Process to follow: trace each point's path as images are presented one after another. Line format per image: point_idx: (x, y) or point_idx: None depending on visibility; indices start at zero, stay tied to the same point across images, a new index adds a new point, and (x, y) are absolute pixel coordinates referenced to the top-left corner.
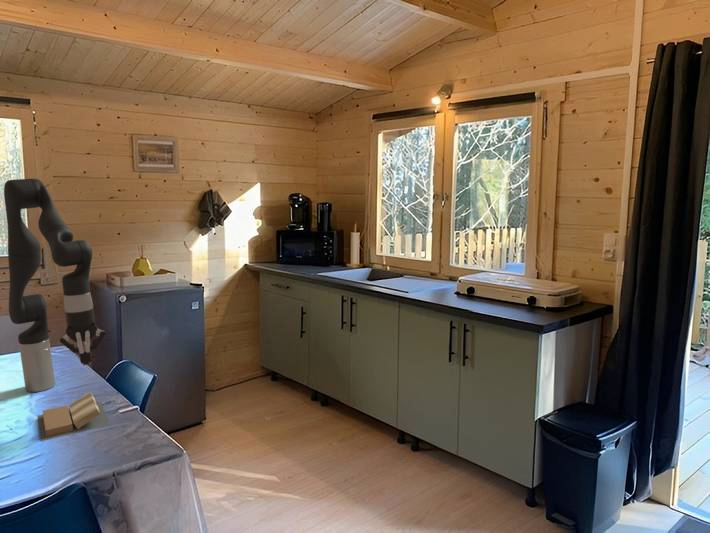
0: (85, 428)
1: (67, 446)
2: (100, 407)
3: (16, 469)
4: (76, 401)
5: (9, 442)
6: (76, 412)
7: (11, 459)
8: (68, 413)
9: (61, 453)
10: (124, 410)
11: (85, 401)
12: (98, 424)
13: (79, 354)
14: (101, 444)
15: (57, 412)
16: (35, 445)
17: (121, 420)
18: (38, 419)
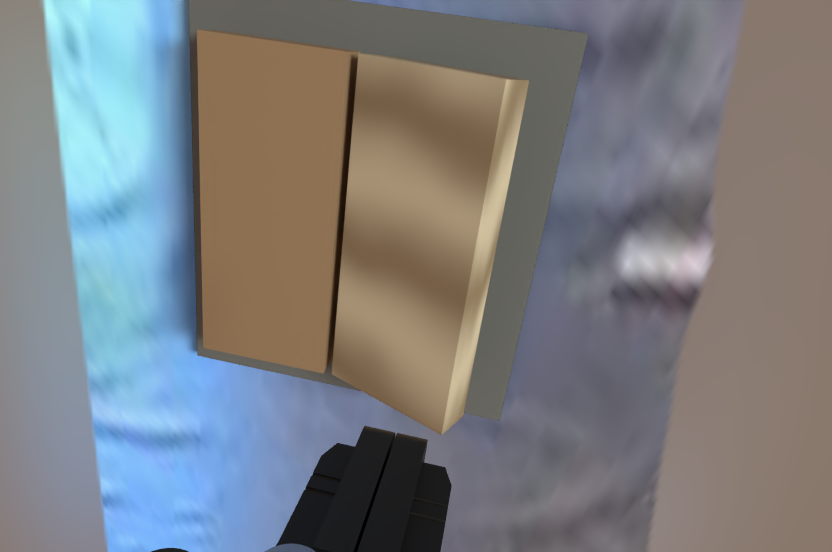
0: None
1: (296, 449)
2: (544, 150)
3: (127, 478)
4: (401, 86)
5: (80, 225)
6: (365, 265)
7: (104, 395)
8: (330, 213)
9: (269, 484)
10: (648, 270)
11: (434, 210)
12: None
13: (282, 543)
14: None
15: (276, 145)
16: (183, 344)
17: (572, 384)
18: (192, 56)
